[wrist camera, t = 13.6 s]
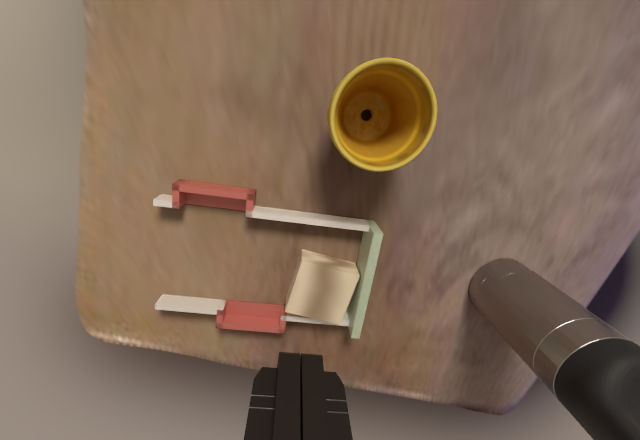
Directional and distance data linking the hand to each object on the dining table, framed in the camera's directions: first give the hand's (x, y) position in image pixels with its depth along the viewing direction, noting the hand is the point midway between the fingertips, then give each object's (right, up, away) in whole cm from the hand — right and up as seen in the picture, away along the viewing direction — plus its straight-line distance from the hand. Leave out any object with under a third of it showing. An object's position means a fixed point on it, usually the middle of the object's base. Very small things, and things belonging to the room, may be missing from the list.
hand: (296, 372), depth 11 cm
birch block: (+1, -3, +35) cm, 36 cm away
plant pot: (+6, +18, +28) cm, 34 cm away
